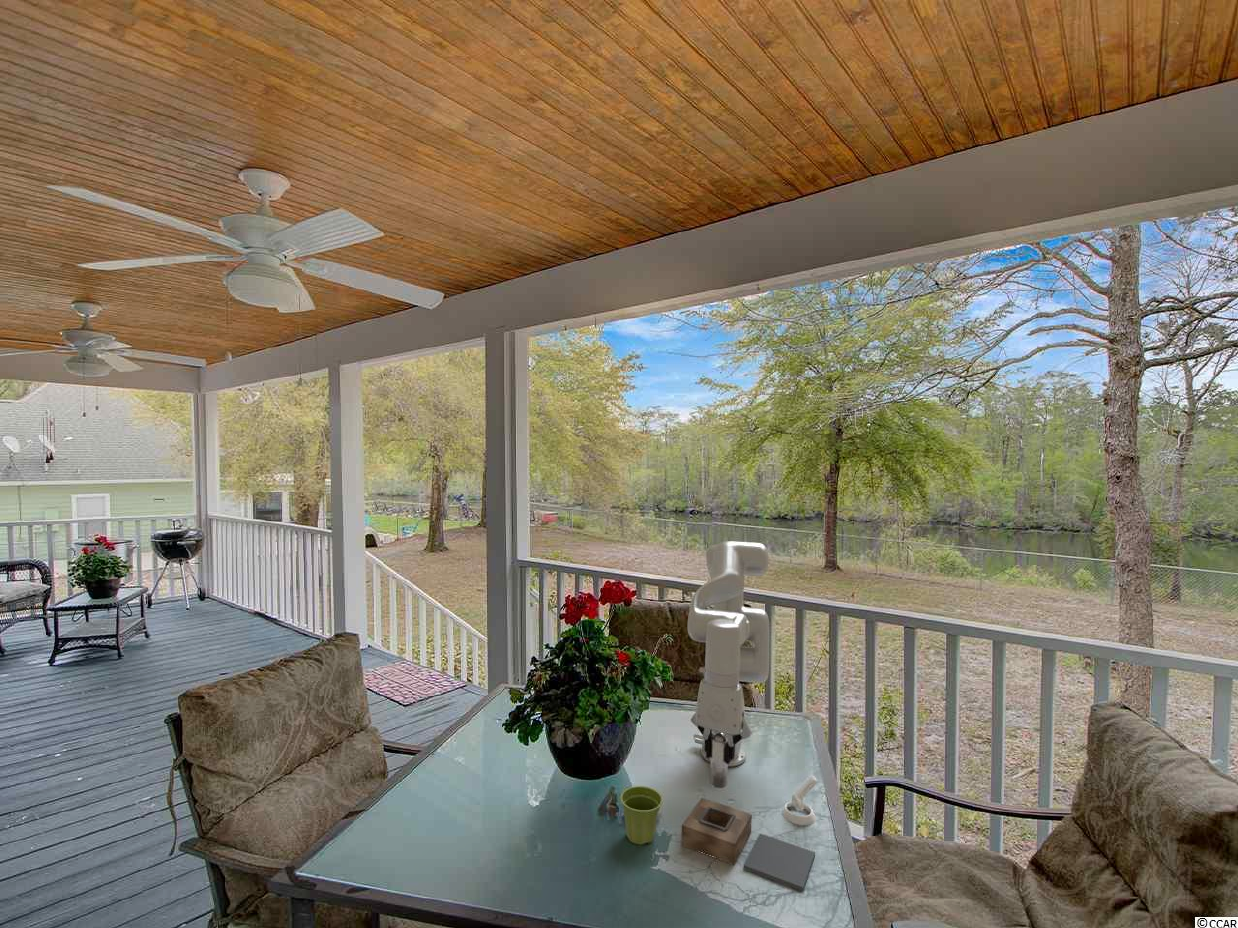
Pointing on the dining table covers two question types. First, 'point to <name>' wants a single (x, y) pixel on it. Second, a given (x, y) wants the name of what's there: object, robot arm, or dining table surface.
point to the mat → (780, 861)
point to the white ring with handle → (801, 803)
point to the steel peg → (718, 761)
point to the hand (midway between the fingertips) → (719, 757)
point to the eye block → (716, 830)
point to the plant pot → (641, 813)
